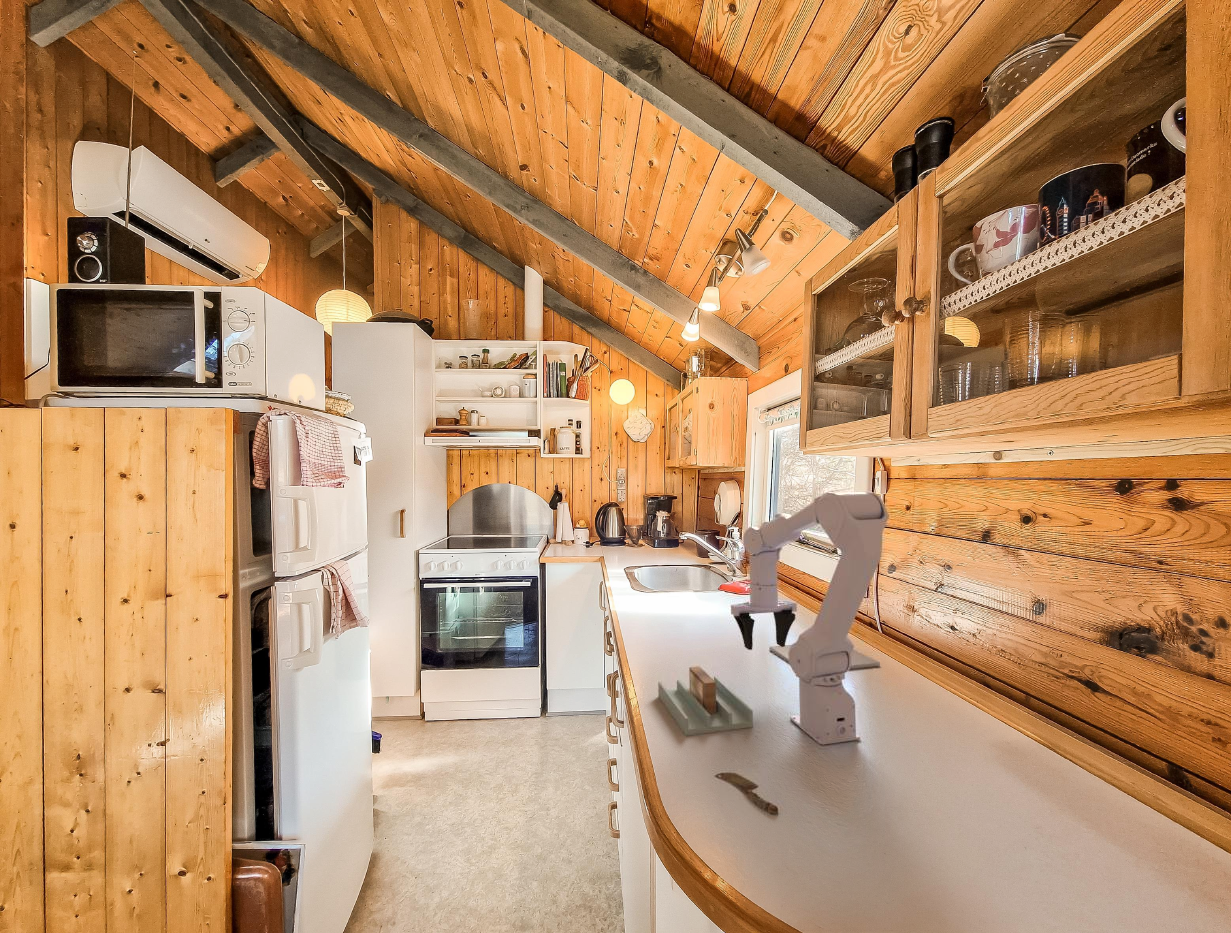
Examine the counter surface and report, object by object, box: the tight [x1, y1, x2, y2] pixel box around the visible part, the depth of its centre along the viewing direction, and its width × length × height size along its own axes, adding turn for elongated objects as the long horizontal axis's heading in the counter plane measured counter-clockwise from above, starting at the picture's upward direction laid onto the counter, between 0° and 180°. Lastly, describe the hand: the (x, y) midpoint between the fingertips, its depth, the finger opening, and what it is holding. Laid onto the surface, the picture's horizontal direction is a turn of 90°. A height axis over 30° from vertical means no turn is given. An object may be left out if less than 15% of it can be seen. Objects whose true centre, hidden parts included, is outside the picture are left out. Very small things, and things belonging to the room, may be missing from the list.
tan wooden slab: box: [688, 666, 716, 715], centre depth 95 cm, size 8×2×6 cm, turn 12°
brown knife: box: [714, 772, 779, 816], centre depth 70 cm, size 12×1×5 cm
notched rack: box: [657, 675, 754, 737], centre depth 95 cm, size 16×13×3 cm
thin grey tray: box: [768, 644, 881, 671], centre depth 122 cm, size 16×2×20 cm
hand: (764, 646), depth 103 cm, fingers open, 7 cm apart
